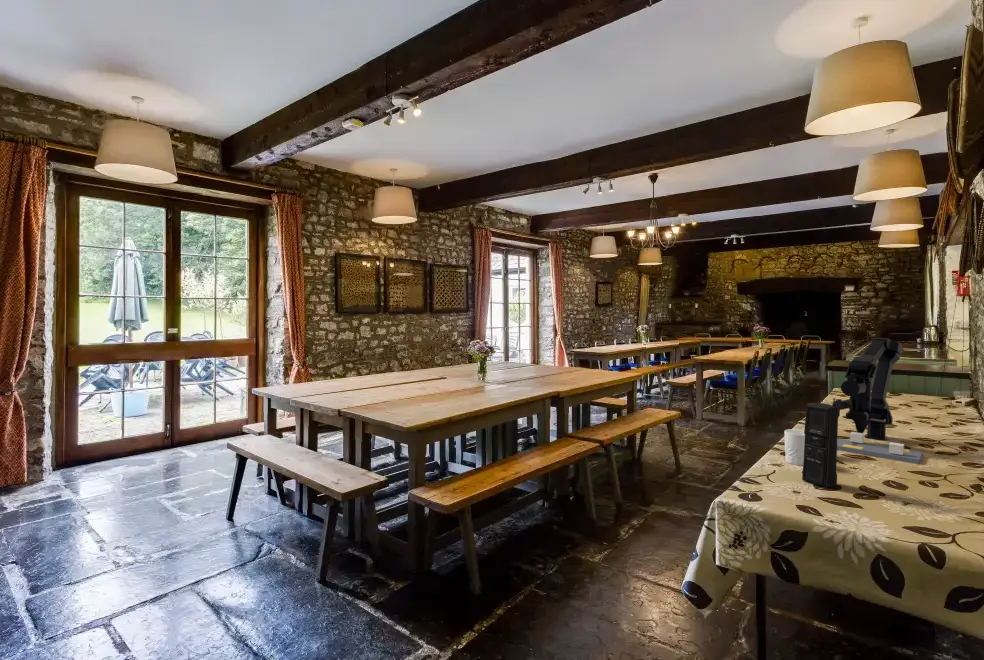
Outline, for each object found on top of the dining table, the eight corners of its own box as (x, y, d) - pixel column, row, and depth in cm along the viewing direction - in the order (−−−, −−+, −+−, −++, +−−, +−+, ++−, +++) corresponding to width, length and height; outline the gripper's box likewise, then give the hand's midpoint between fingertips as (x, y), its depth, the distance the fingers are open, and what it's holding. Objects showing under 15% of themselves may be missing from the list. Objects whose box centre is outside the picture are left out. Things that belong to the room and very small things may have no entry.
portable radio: (797, 479, 144) (799, 394, 143) (810, 476, 147) (813, 393, 146) (824, 488, 137) (827, 399, 136) (838, 485, 140) (841, 397, 138)
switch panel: (838, 442, 185) (838, 437, 185) (922, 455, 168) (922, 451, 168) (830, 449, 176) (830, 444, 176) (918, 464, 159) (919, 459, 159)
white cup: (802, 467, 155) (803, 436, 155) (778, 461, 162) (779, 430, 162) (817, 464, 159) (818, 433, 158) (792, 457, 166) (793, 428, 165)
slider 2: (890, 450, 167) (890, 442, 167) (903, 453, 165) (904, 444, 165) (888, 452, 165) (889, 443, 165) (902, 455, 163) (903, 446, 163)
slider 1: (851, 439, 182) (851, 431, 181) (863, 441, 179) (863, 433, 179) (849, 441, 179) (850, 433, 179) (862, 443, 177) (862, 435, 177)
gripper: (840, 388, 195) (839, 427, 196) (829, 394, 182) (828, 435, 183) (875, 392, 187) (874, 432, 188) (867, 398, 174) (865, 441, 175)
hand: (859, 435), depth 183 cm, fingers closed
